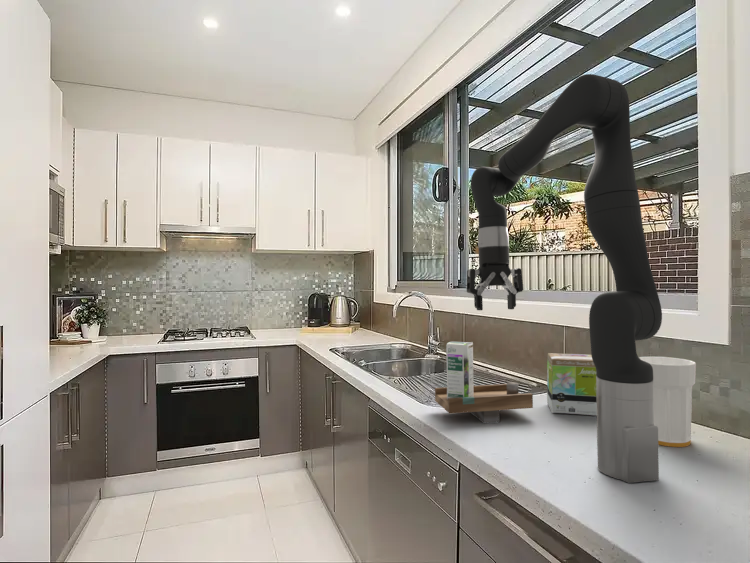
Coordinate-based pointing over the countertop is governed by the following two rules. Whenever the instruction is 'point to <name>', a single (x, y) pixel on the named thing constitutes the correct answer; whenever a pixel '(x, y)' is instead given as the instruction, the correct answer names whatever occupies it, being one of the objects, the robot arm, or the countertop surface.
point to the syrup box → (459, 369)
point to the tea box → (571, 384)
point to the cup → (672, 399)
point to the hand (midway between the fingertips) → (495, 309)
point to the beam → (486, 401)
